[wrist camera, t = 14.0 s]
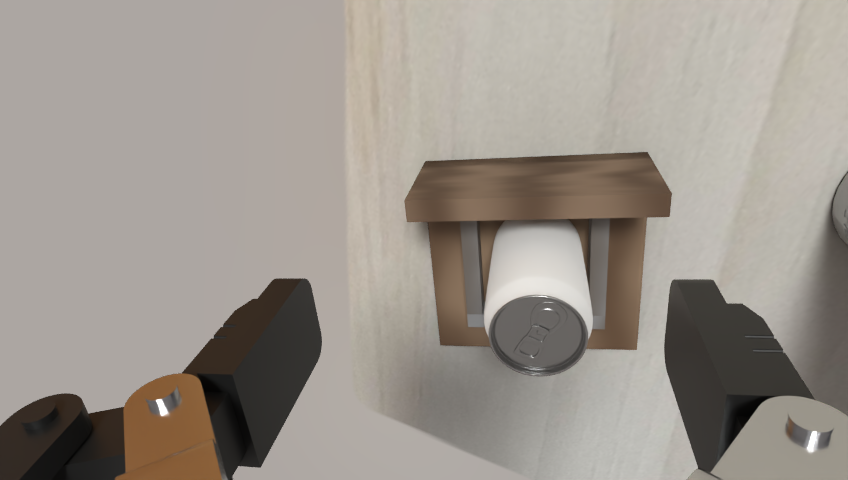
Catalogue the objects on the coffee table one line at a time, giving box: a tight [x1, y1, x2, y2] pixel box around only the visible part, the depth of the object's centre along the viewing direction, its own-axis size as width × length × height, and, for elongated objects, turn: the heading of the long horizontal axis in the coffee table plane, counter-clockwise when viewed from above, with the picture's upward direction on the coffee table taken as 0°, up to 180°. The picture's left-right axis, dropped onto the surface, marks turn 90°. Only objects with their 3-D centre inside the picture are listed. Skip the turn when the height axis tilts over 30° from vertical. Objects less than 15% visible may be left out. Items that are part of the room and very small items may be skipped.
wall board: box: [405, 152, 672, 350], centre depth 42 cm, size 16×16×8 cm
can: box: [484, 219, 593, 376], centre depth 38 cm, size 6×6×12 cm
